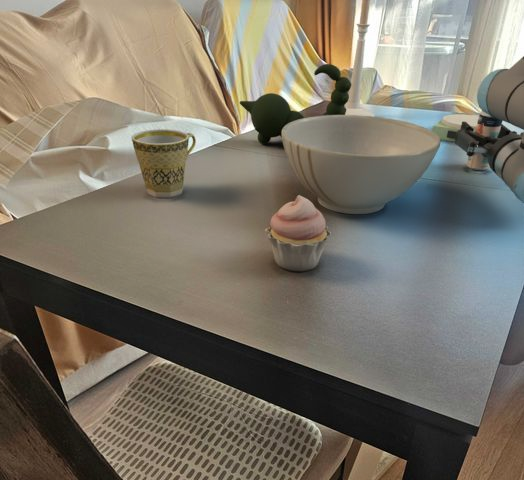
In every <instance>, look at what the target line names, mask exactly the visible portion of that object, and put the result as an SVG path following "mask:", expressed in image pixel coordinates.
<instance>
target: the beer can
mask: <svg viewBox="0 0 524 480" xmlns="http://www.w3.org/2000/svg"><path fill="white" fill-rule="evenodd" d="M478 116H479V118H478V122H477V126H476V130H475V132H476V133H478V134H481V135H483V136H485V137H486V136H492V137H495V138H498V135H499V132H500V128H501V125H502V124H503V121H502V120H500V119H495V118H492V117H491V116H490V115H488V114H487V113H485V112H484V111H482V110H481V111H480V112H479V115H478ZM467 156H468V155H467ZM466 167H468V168H469V169H471V170H473V171H480V172H481V171H486V170H488V169H489V168H490V166H489V163H488V159H487V157H484V156H483V155H482V154H481V153H477V152H476V154H475V155H473V156H468V157H467V161H466Z"/></svg>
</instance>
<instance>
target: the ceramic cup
mask: <svg viewBox="0 0 524 480" xmlns="http://www.w3.org/2000/svg"><path fill="white" fill-rule="evenodd" d="M190 138H192V143H191V146H190V147H189V139H190ZM196 140H197V139H196V137H195V135H194V134H193V133H191V132H184V131H182V130H177V129H167V128H157V129H156V128H155V129H147V130H146V129H145V130H142V131H138V132H136V133H134V134H133V135H132V136H131V141H132V146H133V149H134V153H135V156H136V159H137V162H138V164H139V169H140V172H141V175H142V178H143V181H144V186H145V190H146V193H147V194H148V195H149V196H151V197H153V198H162V199H164V198H166V199H167V198H169V199H171V198H174V197H177V196H180V195H182V193H183V191H184V180H185V168H186V161H187V159H188V157H189V155H190V154H191V153H192V151H193V150H194V148H195V147H196V143H197V141H196Z"/></svg>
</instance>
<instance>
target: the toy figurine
mask: <svg viewBox="0 0 524 480" xmlns="http://www.w3.org/2000/svg"><path fill="white" fill-rule="evenodd" d="M313 74H314V76H318V75H319V74H325V75H326V76H328V77H329V78H330V80H332V81H334V82H335V83H334V89H333V90H332V92H331V94H330V101H329V102H328V103H327V105H326V108H325V112H324V113H323V114H322V115H321V116H326V115H345V113H346V108H345V106H346V105H347V102H348V99H349V91H350V88H351V85H352V84H351V80H350V79H349V78H348V77H346V76H341V75H342V73H341V70H340V69H339V67H338V66H336V65H334V64H332V63H324V64H322V65H320V66H318V68H316V69H315V71H314V73H313ZM239 105H240V106H242V108H243V109H245V110H246V111H247V112H248V113H249V114H250V119H251V123H252V126H253V128H254V130H255V131H256V132H257V133H258V134H257V141H258V142H259V143H260V144H262V145H267V144H268V143H270V142H271V140H272V138H276V137H280V138H282V129H283V127H284V126H285V125H287V124H288V123H290V122H293V121H296V120H299V119H303V118H308V117H309V116H308V117H305V116H304V115H303V114H302V113H301V112H299V111H297V110H292V109H291V106H290V104H289V102H288V101H287V99H286V98H284V97H283V96H281V95H280V94H277V93H275V92H269V93H265V94H263V95H261V96H259V97H258V98H257V99H255V100H240V101H239ZM282 143H283V141H282Z"/></svg>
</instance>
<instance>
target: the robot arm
mask: <svg viewBox="0 0 524 480" xmlns="http://www.w3.org/2000/svg"><path fill="white" fill-rule="evenodd" d="M476 102H477V105H478V108H479V109H480V110H481V111H484V112H485V113H487V114H488V115H490V116H491V117H492V118H495V119H500V120H502V122H505V123H508V124H510V125H512V126H514V127H516V128H518V129H520V130H523V131H522V132H520V134H518V132H517V131H515V130H511V129H509V128H508V127H507V126H506V125H504V124H503V123H502V125H501V128H500V132H499V135H498V138H495V137H492V136H486V137H485V136H483V135H481V134H478V133H476V132H473V131H474V129H473V128H472V126H470V125H469V124H468V123H467V122H463V121H462V125H461V129H460V130H457V134H456V138H455V142H454V141H453V143H454V144H455V145H456V146H457V147H459V148H460V149H461V150H463V151H464V152H465V153H466V156H473V155H475V154H476V152H477V153H481V154H482V155H483V156H484V157H487V159H488V163H489V168H490V170H491V171H492V172H493V173H494V174H495V175H496V176H497V177H498V178H499V179H500V180H501V181H502V182H503V183H504V184H505V185H506V186H507V187H508V188H509V190H510V191H511V192H512V193H513V194H514V196H515V198H516V199H517V200H519V201H521V202H522V203H524V55H523V56H522V57H521V58H520V59H518V61H516V62H515V63H514V64H513V65H512V66H511V67H510V68H498V69H495V70H493V71H491V72H489V73H488V74H487V75H486V76H485V77H484V78H483V79H482V81H481V82H480V84H479V86H478V88H477V94H476Z"/></svg>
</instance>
